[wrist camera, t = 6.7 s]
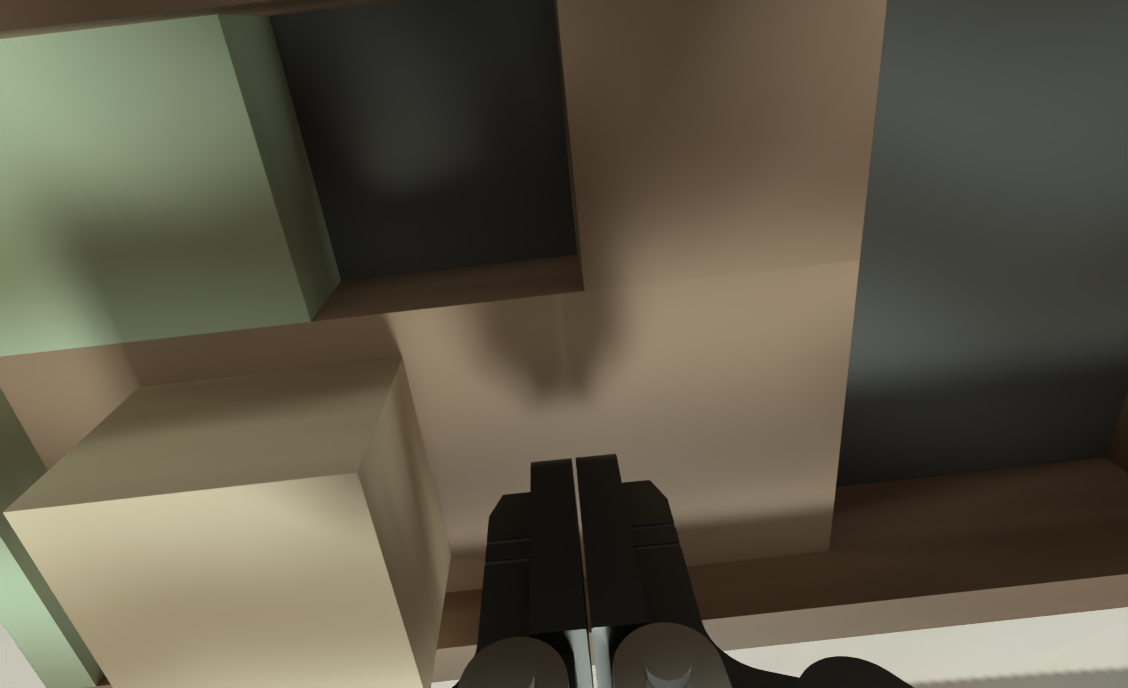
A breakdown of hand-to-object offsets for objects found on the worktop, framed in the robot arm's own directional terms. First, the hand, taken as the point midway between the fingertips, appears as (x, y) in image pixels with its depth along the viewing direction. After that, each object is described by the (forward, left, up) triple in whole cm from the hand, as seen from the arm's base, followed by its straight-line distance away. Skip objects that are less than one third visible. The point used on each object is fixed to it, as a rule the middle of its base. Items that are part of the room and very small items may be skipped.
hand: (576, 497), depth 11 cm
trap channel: (-2, +2, -4) cm, 5 cm away
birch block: (0, -5, -2) cm, 6 cm away
